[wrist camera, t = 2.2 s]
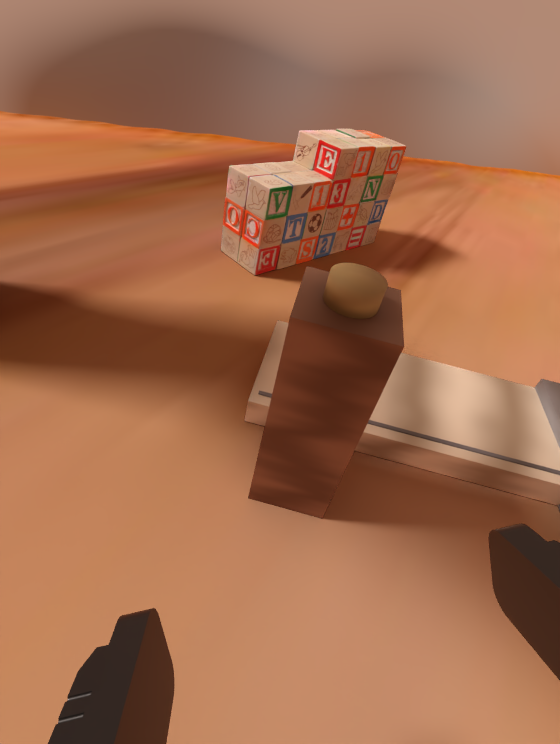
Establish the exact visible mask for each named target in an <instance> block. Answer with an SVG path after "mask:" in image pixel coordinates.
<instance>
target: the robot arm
mask: <svg viewBox="0 0 560 744" xmlns="http://www.w3.org/2000/svg"><path fill="white" fill-rule="evenodd" d="M489 548H490V560H491V571H492V582H493V589H494V592H495V596H496V598H497V601H498V603H499V605H500V607H501V609H502V610H503V612H504V613H505V615H506V616H507V617H508V618H509V620H510V621H511V622H512V623H513V625H514V626H515V627H516V628H517V629H518V631H519V632H520V633H521V634H522V635H523V637H524V638H525V639H526V640H527V641H528V643H529V644H530V645H531V646H532V647H533V649H534V650H535V651H536V652H537V654H538V655H539V656H540V657H541V658H542V660H543V661H544V662H545V663H546V664H547V666H548V667H549V668H550V669H551V670H552V672H553V673H554V674H555V675H556V676H557V678H558V679H559V680H560V543H559V542H557V541H554V540H553V541H549V542H547V541H546V540H544V539H543V538H542V537H541V536H539V535H538V534H537V533H536V532H535V531H533V530H532V529H531V528H530V527H528V526H527V525H525V524H517V525H513V526H508V527H504V528H500V529H495V530H492V531H490V533H489ZM173 697H174V670H173V664H172V660H171V656H170V653H169V650H168V646H167V643H166V639H165V636H164V632H163V629H162V625H161V622H160V618H159V615H158V612H157V611H156V609H155V608H152V609H148V610H144V611H139V612H135V613H131V614H127V615H122V616H120V617H119V619H118V621H117V624H116V626H115V629H114V632H113V635H112V637H111V640H110V643H109V645H106V646H101V647H97V648H96V649H95V650H94V652H93V653H92V654H91V656H90V657H89V658H88V659H87V661H86V662H85V663H84V664H83V666H82V667H81V668H80V670H79V671H78V673H77V675H76V678H75V680H74V682H73V685H72V687H71V690H70V692H69V694H68V701H67V702H65V704H64V706H63V709H62V711H61V714H60V716H59V718H58V719H59V722H58V724H56V725H55V728H54V730H53V733H52V735H51V737H50V740H49V742H48V744H166V742H167V735H168V729H169V723H170V716H171V710H172V703H173Z"/></svg>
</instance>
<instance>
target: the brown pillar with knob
mask: <svg viewBox="0 0 560 744" xmlns="http://www.w3.org/2000/svg"><path fill="white" fill-rule="evenodd" d="M403 348H404V338H403V320H402V302H401V290H398V289H394V288H390V287H388V283H387V280H386V279H385V278H384V277H383V276H382V275H381V274H380V273H379V272H377V271H375V270H374V269H372V268H369V267H367V266H364V265H360V264H356V263H339V264H336V265H334V266H332V268H331V269H330V272H328V271H324V270H320V269H317V268H313V267H309V266H307V267H306V270H305V273H304V276H303V279H302V282H301V285H300V288H299V291H298V294H297V297H296V300H295V303H294V307H293V310H292V313H291V316H290V319H289V324H288V328H287V332H286V337H285V341H284V345H283V350H282V354H281V358H280V363H279V367H278V371H277V376H276V380H275V384H274V389H273V393H272V397H271V402H270V406H269V410H268V415H267V419H266V423H265V428H264V432H263V436H262V441H261V445H260V449H259V453H258V458H257V462H256V466H255V471H254V475H253V479H252V484H251V488H250V492H249V497H248V498H250V499H253V500H257V501H261V502H264V503H268V504H272V505H275V506H279V507H282V508H286V509H290V510H293V511H297V512H301V513H304V514H308V515H311V516H315V517H319V518H323V516H324V514H325V511H326V509H327V507H328V505H329V503H330V501H331V499H332V497H333V495H334V493H335V490H336V488H337V486H338V484H339V482H340V480H341V478H342V476H343V474H344V472H345V470H346V467H347V465H348V463H349V461H350V459H351V457H352V455H353V453H354V451H355V449H356V446H357V444H358V442H359V440H360V438H361V436H362V434H363V432H364V430H365V428H366V425H367V423H368V421H369V419H370V417H371V415H372V413H373V411H374V409H375V407H376V404H377V402H378V400H379V398H380V396H381V394H382V392H383V390H384V388H385V386H386V383H387V381H388V379H389V377H390V375H391V373H392V371H393V369H394V367H395V365H396V362H397V360H398V358H399V356H400V354H401V352H402V350H403Z"/></svg>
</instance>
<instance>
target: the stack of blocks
mask: <svg viewBox="0 0 560 744" xmlns="http://www.w3.org/2000/svg"><path fill="white" fill-rule="evenodd" d="M405 149H406V146H405V145H403V144H400V143H398V142H396V141H393V140H391V139H388V138H385V137H383V136H380V135H377V134H375V133H372V132H369V131H366V130H364V131H363V130H353V129H336V130H318V131H317V130H304V131H302V130H300V131H299V134H298V139H297V144H296V149H295V154H294V159H293V161H287V162H276V163H274V162H270V163H257V164H246V165H232V166H229V173H228V183H227V193H226V196H227V197H226V198H225V205H224V217H223V230H222V243H221V251H222V252H224V253H225V254H226V255H228V256H229V257H230V258H232V259H233V260H234V261H236V262H238V264H240V265H241V266H242V267H244V268H245V269H247V270H248V271H249V272H251V273H252V274H254V275H258V274H262V273H265V272H268V271H272V270H275V269H281V268H285V267H289V266H292V265H294V264H299V263H303V262H306V261H310V260H313V259H316V258H319V257H323V256H326V255H329V254H333V253H337V252H340V251H344V250H349V249H352V248H356V247H359V246H363V245H367V244H370V243H373V242H374V240H375V237H376V234H377V231H378V228H379V226H380V223H381V219H382V216H383V213H384V210H385V207H386V204H387V202H388V198H389V197H390V194H391V191H392V189H393V186H394V183H395V180H396V177H397V174H398V173H397V172H398V169H399V167H400V164H401V161H402V158H403V155H404V152H405Z"/></svg>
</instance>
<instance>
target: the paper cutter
mask: <svg viewBox="0 0 560 744" xmlns="http://www.w3.org/2000/svg"><path fill="white" fill-rule="evenodd" d="M288 324H289V323H286V322H282V321H279V320H277V323H276V326H275V328H274V331H273V334H272V337H271V339H270V342H269V345H268V348H267V350H266V353H265V356H264V358H263V361H262V364H261V367H260V369H259V372H258V375H257V378H256V380H255V383H254V386H253V388H252V391H251V394H250V397H249V399H248V403H247V409H246V414H245V420H244V421H247V422H251V423H254V424H258V425H262V426H265V423H266V419H267V415H268V410H269V406H270V402H271V397H272V393H273V389H274V384H275V380H276V376H277V371H278V367H279V363H280V358H281V354H282V350H283V345H284V341H285V337H286V332H287V328H288ZM355 451H358V452H361V453H365V454H369V455H373V456H376V457H380V458H384V459H387V460H391V461H395V462H398V463H402V464H406V465H410V466H413V467H417V468H421V469H424V470H428V471H432V472H435V473H439V474H443V475H446V476H450V477H454V478H458V479H461V480H465V481H469V482H472V483H476V484H480V485H483V486H487V487H491V488H495V489H498V490H502V491H506V492H509V493H513V494H517V495H520V496H524V497H528V498H531V499H535V500H539V501H543V502H546V503H550V504H554V505H557V506H558V509H559V511H560V383H556V382H552V381H548V380H544V379H541V380H540V382H539V383H538V384H537V385H536V387H535V388H534V387H531V386H527V385H523V384H519V383H515V382H511V381H508V380H504V379H500V378H496V377H492V376H489V375H485V374H481V373H477V372H473V371H469V370H466V369H462V368H458V367H454V366H450V365H447V364H443V363H439V362H435V361H431V360H427V359H424V358H420V357H416V356H412V355H408V354H405V353H401V354H400V356H399V358H398V360H397V362H396V365H395V367H394V369H393V371H392V373H391V375H390V377H389V379H388V381H387V383H386V386H385V388H384V390H383V392H382V394H381V396H380V398H379V400H378V402H377V404H376V407H375V409H374V411H373V413H372V415H371V417H370V419H369V421H368V423H367V425H366V428H365V430H364V432H363V434H362V436H361V438H360V440H359V442H358V444H357V446H356V449H355Z"/></svg>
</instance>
